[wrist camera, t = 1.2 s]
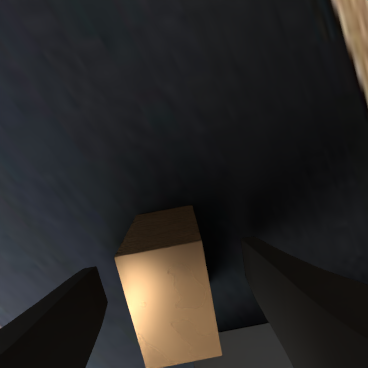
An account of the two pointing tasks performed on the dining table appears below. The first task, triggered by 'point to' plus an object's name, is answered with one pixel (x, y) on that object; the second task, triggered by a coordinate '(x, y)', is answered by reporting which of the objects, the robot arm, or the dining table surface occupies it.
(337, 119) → the dining table surface
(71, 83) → the dining table surface
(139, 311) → the brown wooden block
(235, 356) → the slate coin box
